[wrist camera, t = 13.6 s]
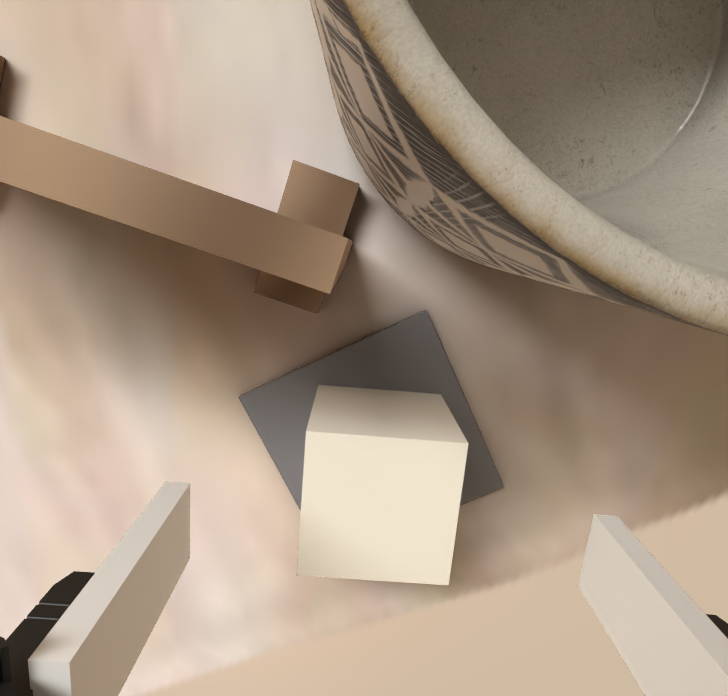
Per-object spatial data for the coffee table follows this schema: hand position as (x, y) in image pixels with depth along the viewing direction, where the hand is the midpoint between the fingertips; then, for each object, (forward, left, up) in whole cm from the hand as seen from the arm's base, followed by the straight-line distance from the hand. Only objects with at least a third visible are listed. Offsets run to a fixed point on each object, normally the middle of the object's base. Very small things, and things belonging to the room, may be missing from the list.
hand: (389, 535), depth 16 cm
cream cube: (+1, 0, -9) cm, 9 cm away
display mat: (0, 0, -9) cm, 9 cm away
